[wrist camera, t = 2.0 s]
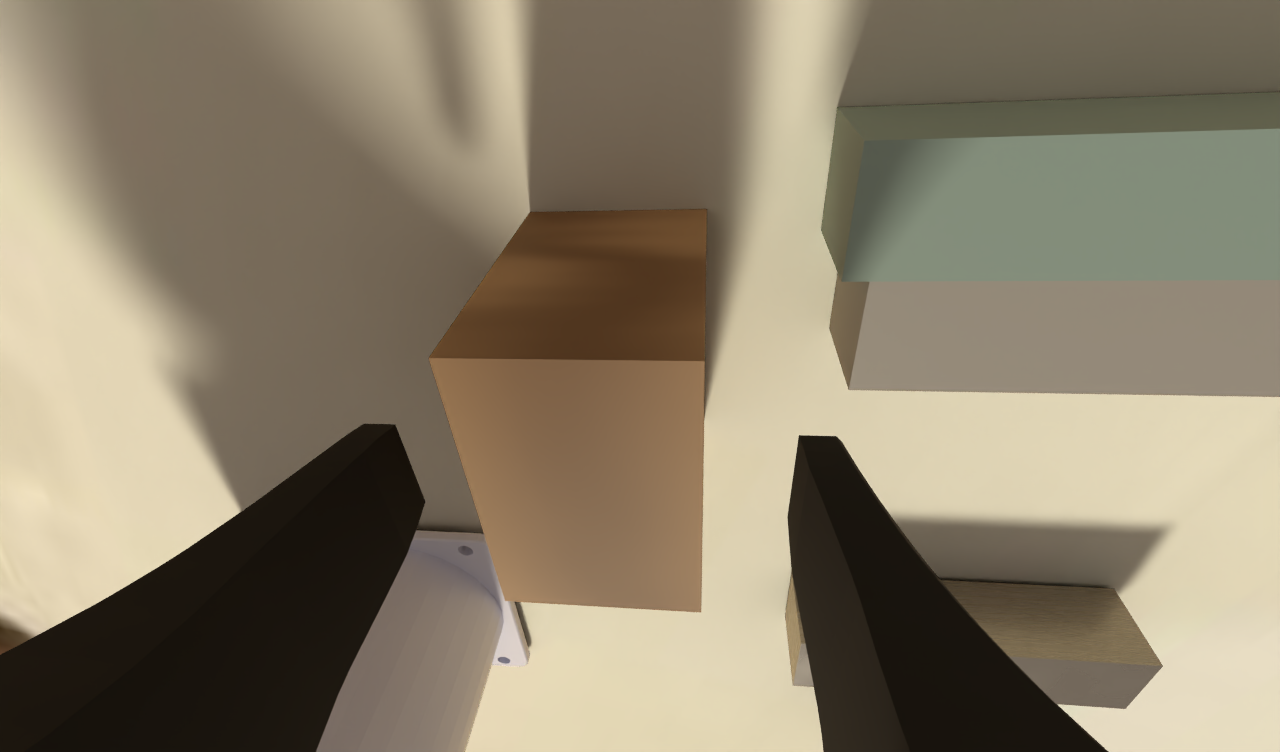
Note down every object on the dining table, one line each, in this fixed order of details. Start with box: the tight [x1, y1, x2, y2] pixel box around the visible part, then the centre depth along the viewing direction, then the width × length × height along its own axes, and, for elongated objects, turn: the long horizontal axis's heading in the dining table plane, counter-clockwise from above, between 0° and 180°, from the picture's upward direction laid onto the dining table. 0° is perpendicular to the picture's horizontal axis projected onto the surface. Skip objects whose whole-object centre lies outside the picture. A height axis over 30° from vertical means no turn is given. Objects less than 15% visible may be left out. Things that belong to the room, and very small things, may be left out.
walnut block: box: [429, 209, 707, 612], centre depth 13 cm, size 4×6×6 cm, turn 3°
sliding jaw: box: [785, 575, 1163, 709], centre depth 21 cm, size 10×9×3 cm
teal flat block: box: [821, 92, 1280, 397], centre depth 11 cm, size 11×5×2 cm, turn 93°
